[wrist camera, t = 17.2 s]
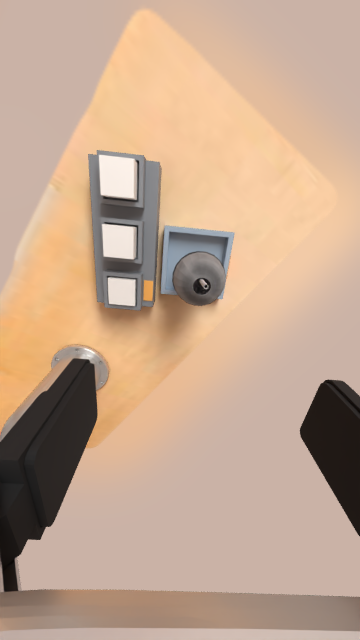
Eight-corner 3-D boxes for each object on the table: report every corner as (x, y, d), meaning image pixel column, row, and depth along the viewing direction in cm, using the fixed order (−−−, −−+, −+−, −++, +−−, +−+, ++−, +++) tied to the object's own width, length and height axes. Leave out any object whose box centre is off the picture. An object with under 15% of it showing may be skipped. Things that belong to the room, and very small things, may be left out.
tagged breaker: (137, 301, 39) (134, 306, 37) (112, 299, 39) (108, 303, 37) (137, 277, 37) (135, 280, 35) (111, 275, 37) (107, 278, 35)
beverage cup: (175, 285, 41) (173, 334, 23) (171, 246, 38) (165, 264, 20) (213, 282, 41) (242, 328, 23) (212, 242, 38) (244, 257, 20)
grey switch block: (155, 300, 43) (149, 315, 36) (104, 295, 43) (89, 310, 35) (161, 168, 34) (156, 152, 27) (97, 160, 34) (75, 143, 27)
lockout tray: (221, 295, 43) (223, 299, 40) (161, 289, 42) (160, 293, 40) (232, 232, 38) (235, 232, 36) (165, 225, 38) (164, 225, 35)
